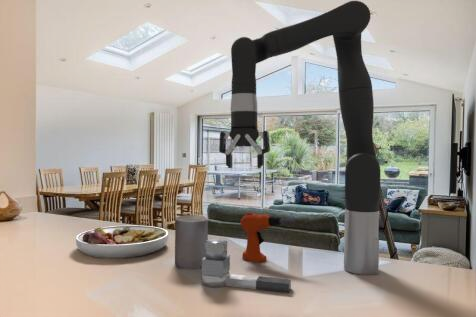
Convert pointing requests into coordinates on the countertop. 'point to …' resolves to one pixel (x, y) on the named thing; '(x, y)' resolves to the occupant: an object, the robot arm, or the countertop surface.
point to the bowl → (121, 241)
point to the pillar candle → (190, 240)
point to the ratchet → (248, 282)
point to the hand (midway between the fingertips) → (244, 168)
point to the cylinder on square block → (216, 258)
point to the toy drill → (257, 233)
